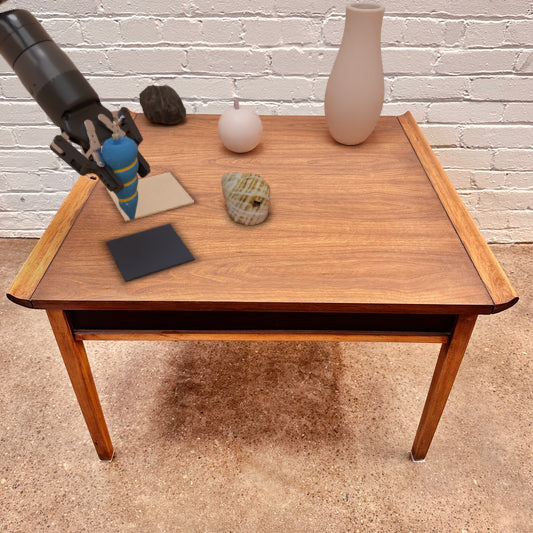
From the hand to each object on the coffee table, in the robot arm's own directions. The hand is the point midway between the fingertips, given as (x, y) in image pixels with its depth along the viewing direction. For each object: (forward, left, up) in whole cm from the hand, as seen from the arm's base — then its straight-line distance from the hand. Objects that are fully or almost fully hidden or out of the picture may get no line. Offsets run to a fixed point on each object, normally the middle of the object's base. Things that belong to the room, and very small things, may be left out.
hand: (133, 182), depth 71 cm
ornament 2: (+33, +31, -16) cm, 48 cm away
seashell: (+22, +7, -16) cm, 28 cm away
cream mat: (+7, +21, -16) cm, 27 cm away
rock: (+23, +56, -16) cm, 63 cm away
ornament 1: (-1, +2, -7) cm, 8 cm away
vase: (+59, +23, -16) cm, 66 cm away
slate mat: (+1, +3, -16) cm, 16 cm away
